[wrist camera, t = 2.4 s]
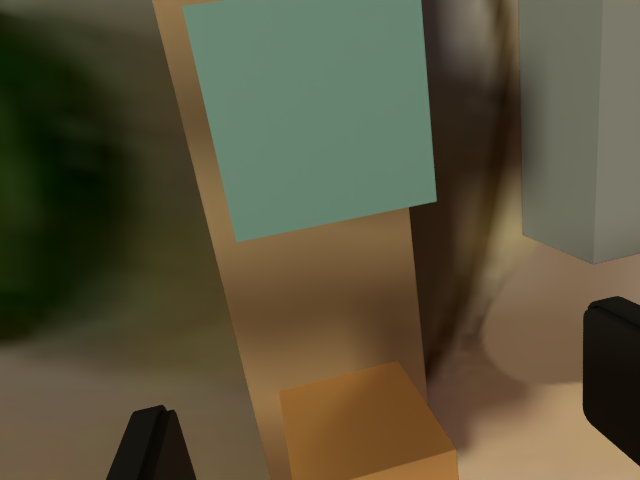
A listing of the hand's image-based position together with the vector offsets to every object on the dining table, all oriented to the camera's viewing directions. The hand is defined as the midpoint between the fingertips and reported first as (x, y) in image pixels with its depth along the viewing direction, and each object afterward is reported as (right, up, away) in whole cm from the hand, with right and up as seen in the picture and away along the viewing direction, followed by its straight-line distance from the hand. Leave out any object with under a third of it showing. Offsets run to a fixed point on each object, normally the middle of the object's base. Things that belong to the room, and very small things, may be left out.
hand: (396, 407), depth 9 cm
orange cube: (-1, -3, +7) cm, 8 cm away
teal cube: (-2, +7, +3) cm, 9 cm away
